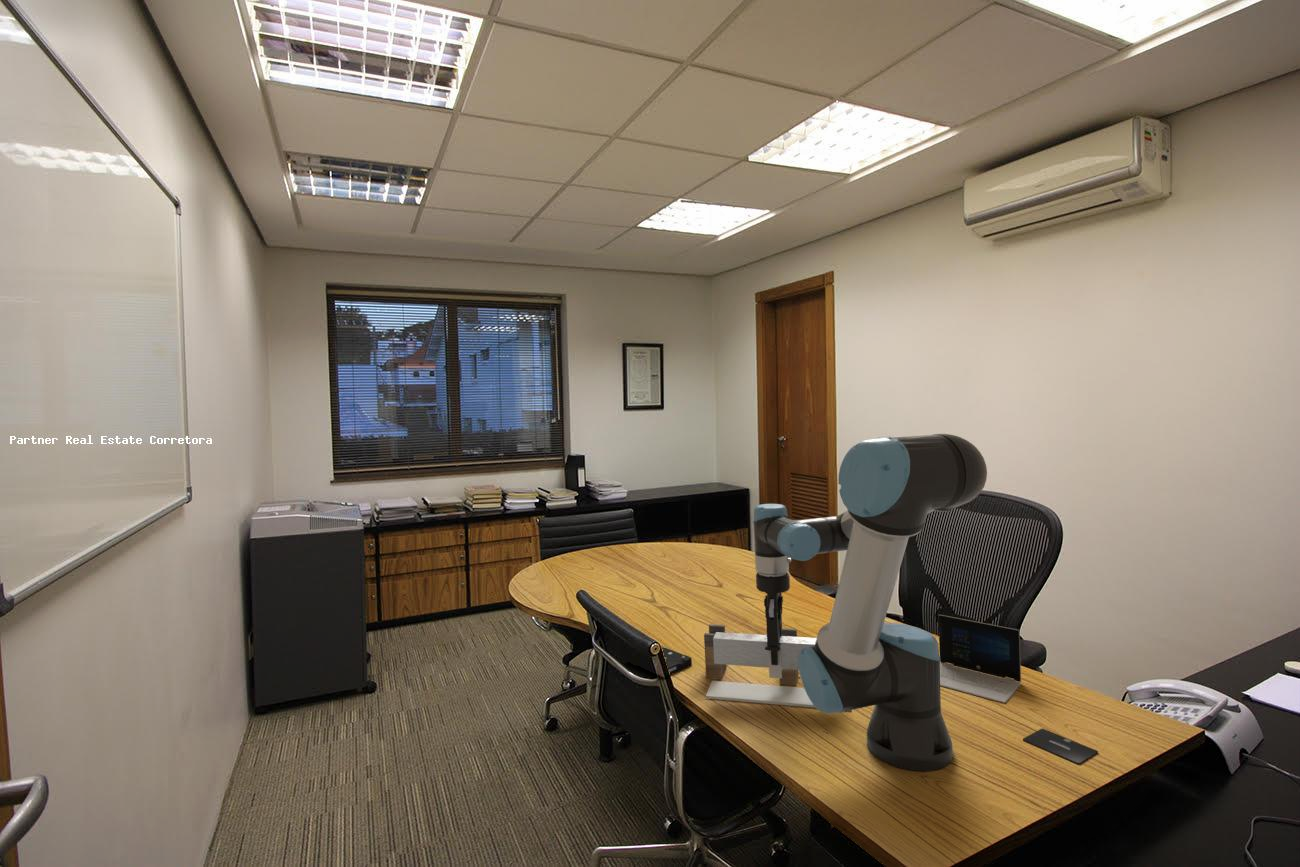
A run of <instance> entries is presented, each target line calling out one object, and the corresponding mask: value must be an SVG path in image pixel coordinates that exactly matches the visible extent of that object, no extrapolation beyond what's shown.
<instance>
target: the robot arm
mask: <svg viewBox="0 0 1300 867" xmlns="http://www.w3.org/2000/svg"><path fill="white" fill-rule="evenodd" d="M985 461H986V460H985V457H984V456H983V454H982V453H981V451H980V450H979V449H978V448H977V447H976V446H975V445H974V444H973V443H971V442H970V441H969V440H967V439H965V438H962V437H961V436H958V435H955V434H947V433H936V434H933V433H932V434H925V435H911V436H910V435H909V436H895V437H893V436H878V437H876V438H873V439H866V440H862V441H860V442H858V443H856V444H854V445H852V447H850V449H849V450H848V451H847V452H846V453H845V455H844V457H843V459H842V462H841V463H840V467H839V469H838V470H839V472H838V485H839V486H840V489H839V491H838V492H839V495H840V499H841V501H842V504H843V505H844V506H845V507H846V509H847V510H846V511H844V512H843V513H840V514H839V515H835V516H834V515H833V516H825V517H824V516H823V517H815V518H805V519H803V518H802V519H790V518H788V517H789V515H788V510H787V507H786V505H784V504H780V503H763V504H759V505H756V506H755V507H754V509H753V521H752V523H753V535H754V536H753V537H754V564H755V566H754V567H755V572H757V573H756V574H755V581H756V582H755V584H756V589H757V590H758V591H759V592H761V593H766V594H765V595H764V596H765V597H764V599H763V602H764V603H763V605H764V608H765V609H764V612H765V624H766V635H767V647H765V650H768V655H769V668H768V672H769V673H768V675H769V679H770V678H771V679H780V678H782V670H783V669H781V649H780V637H779V636H782V633H783V630H782V628H783V618H782V614H783V604H784V596H783V595H782V593H787V592H788V591H789V590H790V588H791V585H790V584H791V580H790V573H789V571H790V563H791V562H792V560H796V561H800V562H803V561H804V562H805V561H809V560H811V559H813V557H816V556H817V555H820V554H827V553H834V552H841V551H842V552H844V551H846V554H845V557H844V561H843V565H842V570H841V575H840V577H839V583H838V586H837V591H836V593H835V599H834V603H833V607H832V611H831V615H830V620H829V622H828V623H826V624H824V625H823V626H822V627H820V629H819V630H818V633H817V635H816V638H817V639H816V643H815V645H814V646H812V647H810V646H806V648H803V649H801V650H800V652H799V655H798V667H799V670H798V674H799V676H800V680H801V683H802V686H803V688H804V689H805V691H806V693H807V695H808V697H809V699H810V700H811V702H812V703H813V705H814V706H815V707H816V708H815V709H817V710H818V711H820V712H821V713H824V714H835V713H839V714H842V713H844V712H850V711H849V710H857V709H862V708H868V707H872V706H873V710H872V713H871V716H870V720H869V722H868V725H867V729H866V745H867V748H868V750H869V751H870V752H871V753H872V754H873V756H875V757H876V758H878V759H879V760H881V761H882V762H885V764H887V765H891V766H894V767H897V768H901V769H903V770H904V769H905V770H908V771H909V770H910V771H920V772H926V771H927V772H928V771H935V770H940V769H942V768H944V767H946V766H948V765H949V764H951V762H952V761H953V757H954V756H953V755H954V753H953V752H954V751H953V749H954V748H953V746H954V745H953V742H952V738H951V736H950V733H949V730H948V728H947V725H946V723H945V719H944V717H943V714H942V706H941V705H942V704H941V703H942V702H941V699H942V698H941V686H940V663H941V662H940V648H939V641H938V640H937V639H936V637H935V636H934V635H933V634H931V633H930V632H928V631H927V630H924V629H922V628H920V627H917V626H913V625H909V624H906V623H905V624H904V623H899V622H885V620H886V617H887V613H888V610H889V606H890V604H891V600H892V596H893V594H894V590H895V586H896V582H897V579H898V576H899V573H900V569H901V566H902V562H903V560H904V559H903V558H904V556H905V551H906V548H907V545H908V543H909V542H908V541H909V538H911V537H914V536H916V535H918V534H919V533H921V532H922V530H923V528H924V525H925V521H926V519H927V515H928V514H931V513H932V512H934V511H935V512H941V513H942V512H949V511H952V510H953V509H956V508H958V507H960V506H962V505H965V504H968V503H970V502H972V501H973V500H974V499H976V498H977V497H978V496H979V495H980V494H981V492H982V491H983V490H984V488H985V486H986V483H987V478H988V470H987V469H988V468H987V464H986V462H985Z"/></svg>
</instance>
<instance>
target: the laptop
mask: <svg viewBox="0 0 1300 867" xmlns="http://www.w3.org/2000/svg"><path fill="white" fill-rule="evenodd" d="M937 616H938V640H939V641H938V649H939V657H940V687H943V688H947V689H951V690H954V691H958V692H962V693H965V694H969V695H973V696H976V697H979V698H983V699H988V700H991V701H995V702H999V703H1001V704H1006V703H1007V702H1008V701H1009V700H1010V698H1011V697H1012V696H1014V694H1015V692H1016V691H1017V690H1018V689H1019V687H1020V686H1021V685H1022V684H1021V682H1022V669H1021V668H1022V664H1021V633H1020V632H1021V631H1020V630H1019V629H1017V628H1012V627H1005V626H1000V625H996V624H991V623H985V622H980V621H975V620H971V619H964V618H960V617H953V616H949V615H943V614H938V615H937Z"/></svg>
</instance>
